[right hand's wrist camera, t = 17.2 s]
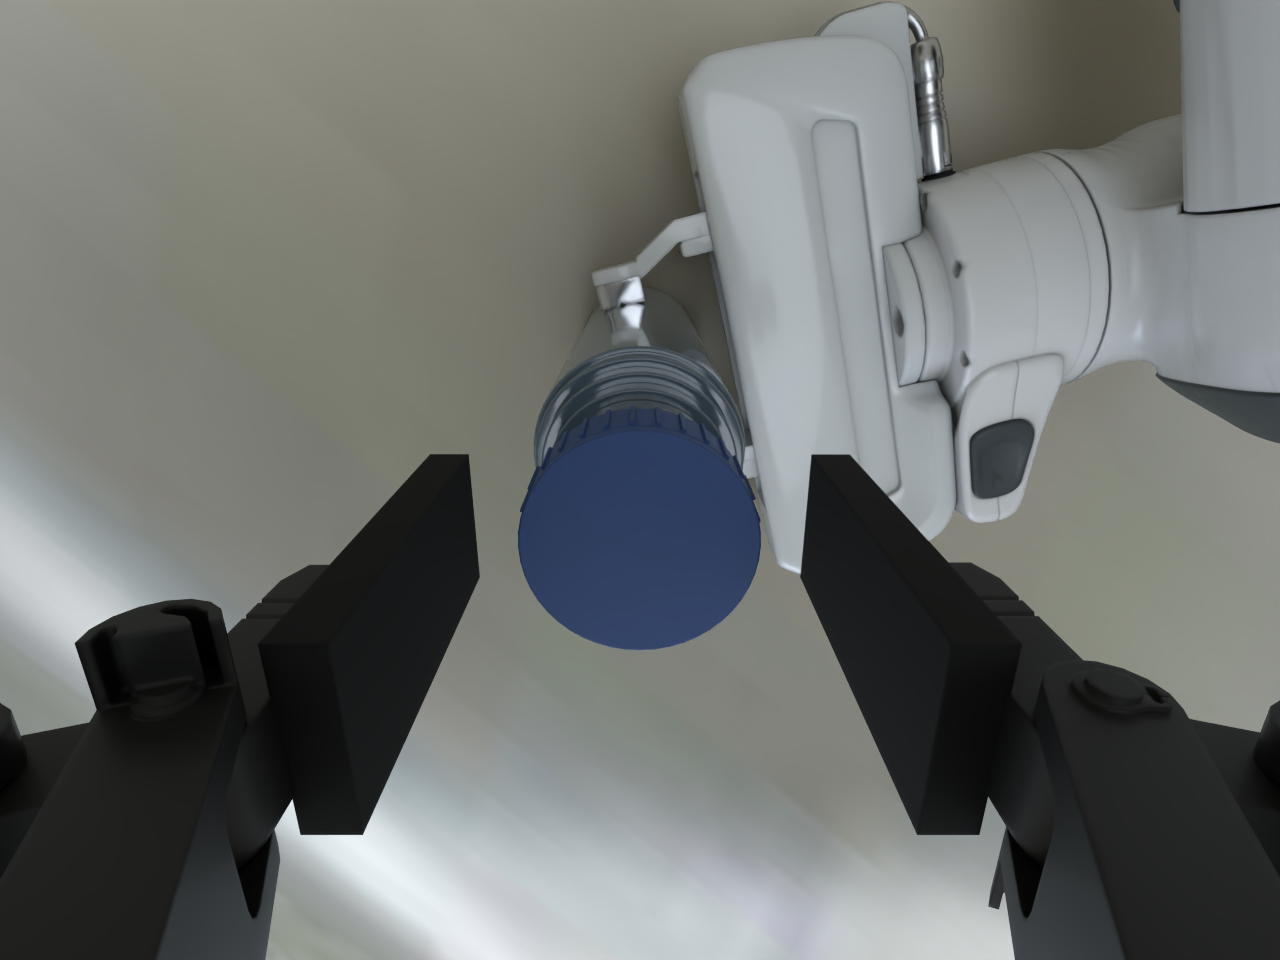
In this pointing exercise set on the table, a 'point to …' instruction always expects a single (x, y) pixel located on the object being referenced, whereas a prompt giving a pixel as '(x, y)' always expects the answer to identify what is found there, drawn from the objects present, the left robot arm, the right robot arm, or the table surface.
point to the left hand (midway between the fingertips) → (618, 376)
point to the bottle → (640, 374)
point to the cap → (639, 530)
